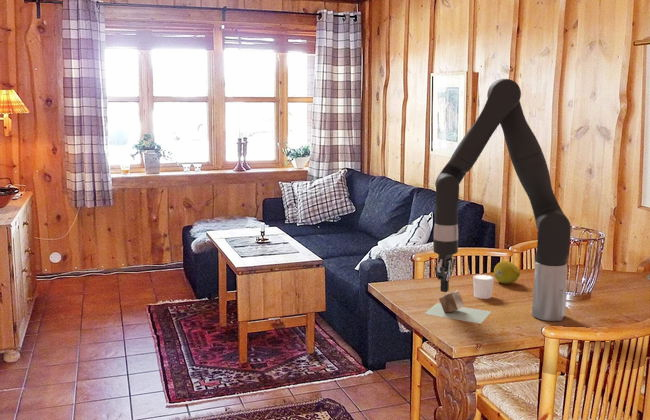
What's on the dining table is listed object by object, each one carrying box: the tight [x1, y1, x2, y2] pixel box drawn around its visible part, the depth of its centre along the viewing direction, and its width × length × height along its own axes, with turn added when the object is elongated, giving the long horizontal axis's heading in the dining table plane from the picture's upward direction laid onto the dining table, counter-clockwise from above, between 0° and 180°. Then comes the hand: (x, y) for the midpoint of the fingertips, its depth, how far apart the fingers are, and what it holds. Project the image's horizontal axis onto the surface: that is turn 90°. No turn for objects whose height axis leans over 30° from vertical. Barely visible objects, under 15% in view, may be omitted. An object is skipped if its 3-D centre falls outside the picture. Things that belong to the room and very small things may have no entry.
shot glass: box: [472, 273, 495, 300], centre depth 227 cm, size 7×7×7 cm
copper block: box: [438, 289, 465, 313], centre depth 212 cm, size 5×5×5 cm
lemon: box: [493, 260, 521, 285], centre depth 242 cm, size 11×8×8 cm
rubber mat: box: [423, 302, 492, 324], centre depth 211 cm, size 18×12×1 cm, turn 61°
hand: (444, 291), depth 212 cm, fingers closed
